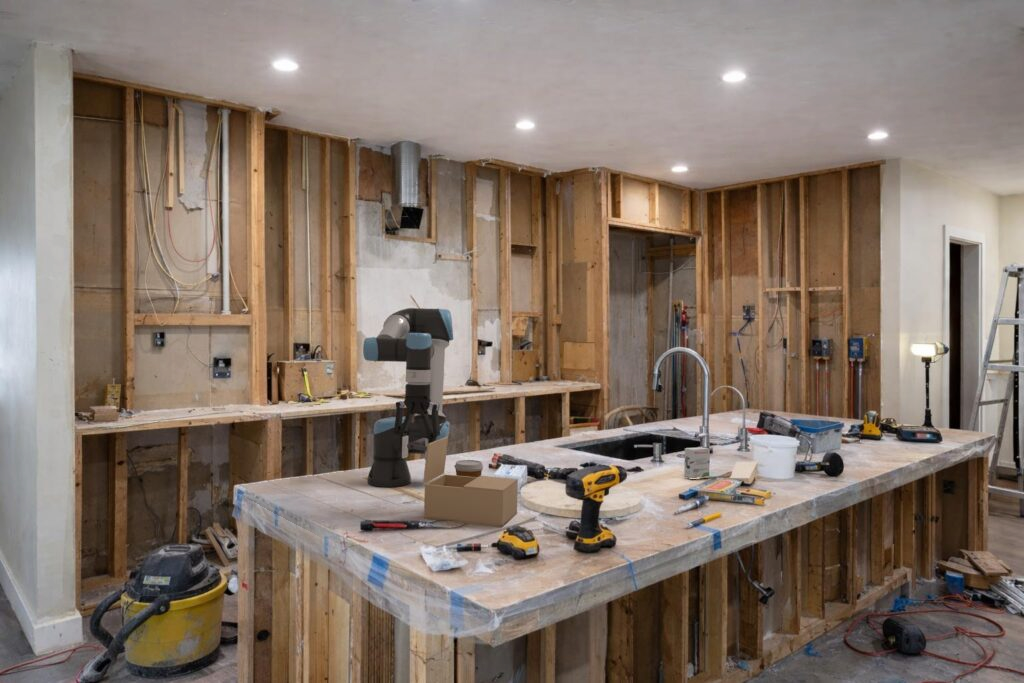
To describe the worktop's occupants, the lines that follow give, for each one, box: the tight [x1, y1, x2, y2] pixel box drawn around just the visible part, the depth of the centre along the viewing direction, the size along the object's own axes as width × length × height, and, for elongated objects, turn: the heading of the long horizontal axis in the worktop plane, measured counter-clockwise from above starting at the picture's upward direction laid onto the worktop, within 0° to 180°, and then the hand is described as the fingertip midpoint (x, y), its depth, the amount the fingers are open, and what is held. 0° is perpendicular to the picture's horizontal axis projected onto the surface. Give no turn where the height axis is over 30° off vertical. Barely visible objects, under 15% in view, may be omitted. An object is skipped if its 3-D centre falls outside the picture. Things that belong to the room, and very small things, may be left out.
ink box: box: [683, 446, 711, 479], centre depth 264 cm, size 9×5×12 cm, turn 112°
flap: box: [407, 437, 449, 484], centre depth 208 cm, size 15×12×8 cm
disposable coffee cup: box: [454, 459, 484, 477], centre depth 224 cm, size 10×10×12 cm
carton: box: [423, 473, 519, 528], centre depth 204 cm, size 15×24×11 cm, turn 74°
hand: (416, 458), depth 209 cm, fingers open, 7 cm apart
